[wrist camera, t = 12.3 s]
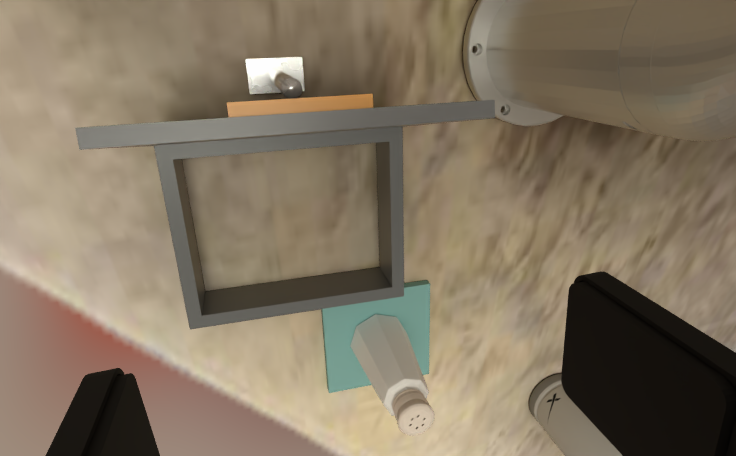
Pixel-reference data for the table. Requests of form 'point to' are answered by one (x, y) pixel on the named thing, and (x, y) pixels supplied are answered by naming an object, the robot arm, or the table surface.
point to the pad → (344, 320)
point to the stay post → (276, 76)
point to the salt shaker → (394, 371)
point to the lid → (283, 121)
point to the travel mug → (567, 421)
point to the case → (294, 292)
